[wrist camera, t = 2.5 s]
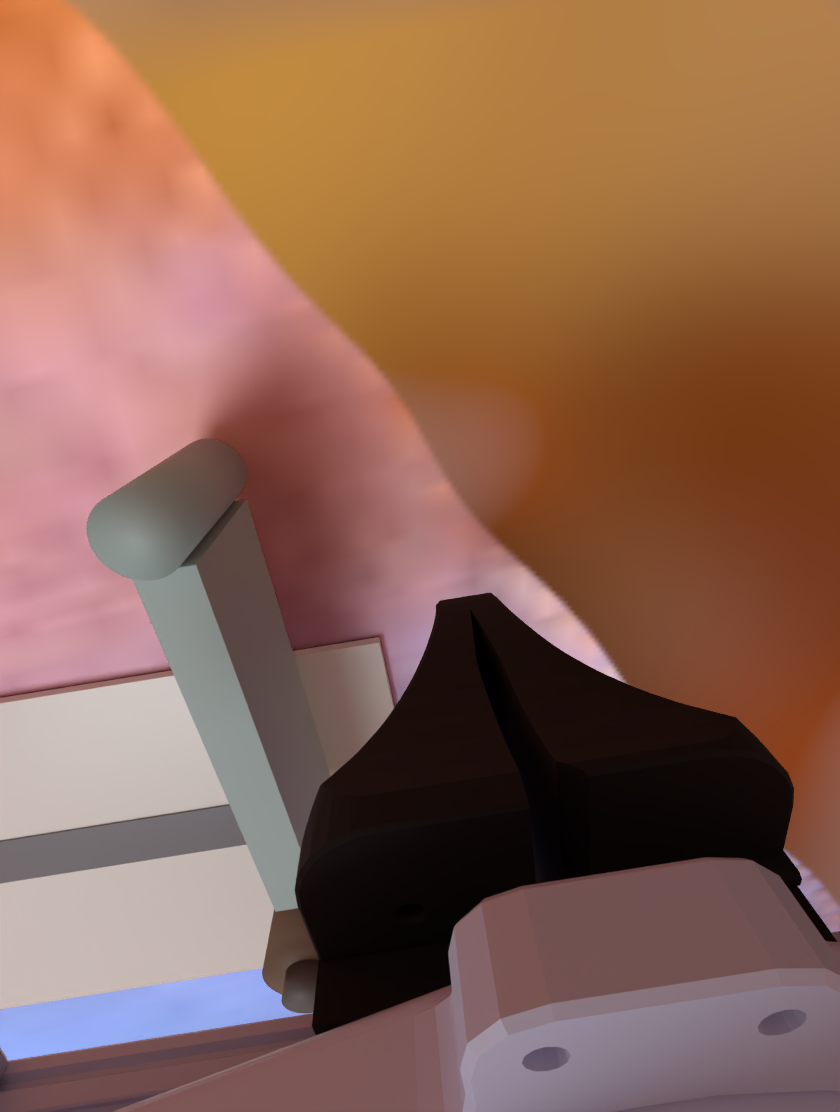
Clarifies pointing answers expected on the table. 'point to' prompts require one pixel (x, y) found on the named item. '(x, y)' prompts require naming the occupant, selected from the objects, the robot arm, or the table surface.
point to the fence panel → (222, 642)
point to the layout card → (142, 830)
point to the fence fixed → (291, 961)
